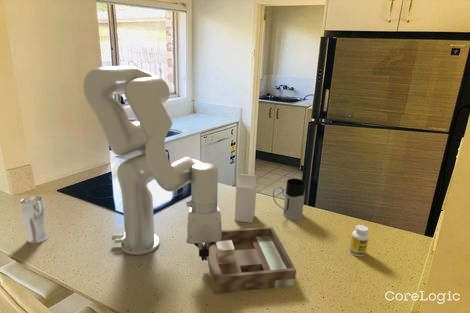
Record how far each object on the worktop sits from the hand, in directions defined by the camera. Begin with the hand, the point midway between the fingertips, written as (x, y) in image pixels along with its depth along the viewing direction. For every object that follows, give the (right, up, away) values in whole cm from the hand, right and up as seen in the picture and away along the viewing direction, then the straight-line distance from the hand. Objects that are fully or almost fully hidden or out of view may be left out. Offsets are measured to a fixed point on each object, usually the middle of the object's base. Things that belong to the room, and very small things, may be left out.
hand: (203, 257), depth 101 cm
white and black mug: (+31, +7, +35) cm, 48 cm away
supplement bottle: (+52, -2, +12) cm, 54 cm away
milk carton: (+14, +6, +32) cm, 35 cm away
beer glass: (-59, +3, +12) cm, 60 cm away
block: (+6, -1, +2) cm, 7 cm away
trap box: (+13, -3, +4) cm, 14 cm away
